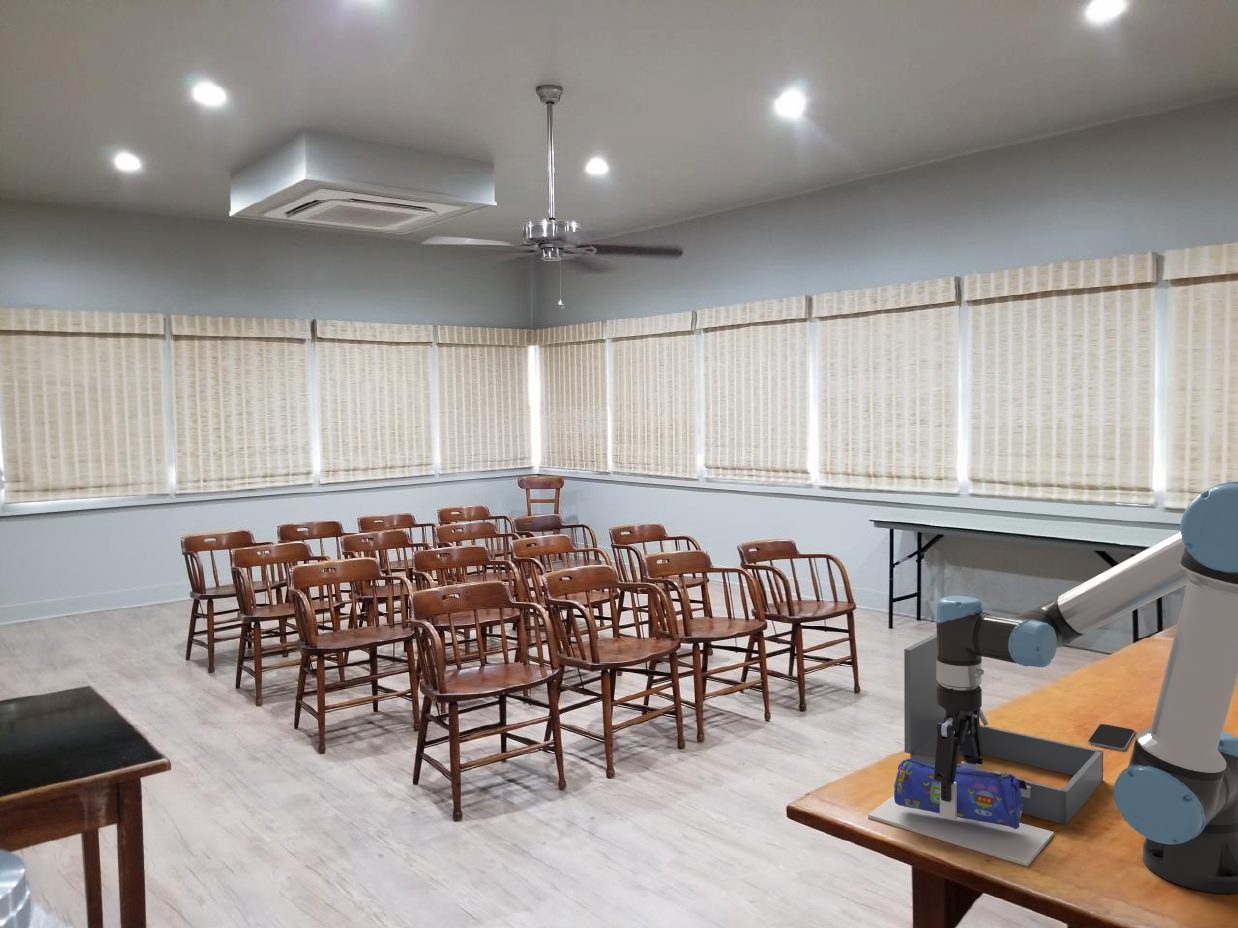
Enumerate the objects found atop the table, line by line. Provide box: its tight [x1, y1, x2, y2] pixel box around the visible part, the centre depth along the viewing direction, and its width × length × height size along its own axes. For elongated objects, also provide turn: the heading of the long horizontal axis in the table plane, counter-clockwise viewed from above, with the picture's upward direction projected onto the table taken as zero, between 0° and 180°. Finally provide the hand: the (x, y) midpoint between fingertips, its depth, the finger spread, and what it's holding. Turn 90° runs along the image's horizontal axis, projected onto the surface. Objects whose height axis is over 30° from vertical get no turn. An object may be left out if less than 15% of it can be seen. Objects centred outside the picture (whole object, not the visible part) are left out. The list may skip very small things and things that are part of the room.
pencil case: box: [893, 758, 1027, 829], centre depth 161 cm, size 22×9×10 cm, turn 61°
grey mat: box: [867, 794, 1055, 867], centre depth 161 cm, size 14×28×1 cm, turn 48°
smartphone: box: [1087, 723, 1136, 752], centre depth 202 cm, size 7×1×15 cm
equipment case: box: [903, 632, 1104, 826], centre depth 179 cm, size 26×30×27 cm
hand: (958, 807), depth 161 cm, fingers closed on pencil case, 9 cm apart
